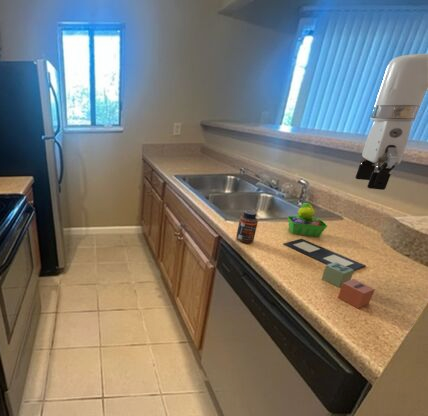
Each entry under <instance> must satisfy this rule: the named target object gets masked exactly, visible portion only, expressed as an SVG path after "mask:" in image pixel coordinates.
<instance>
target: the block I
mask: <svg viewBox="0 0 428 416" xmlns="http://www.w3.org/2000/svg"><path fill="white" fill-rule="evenodd" d="M375 291H376V289H375V288H374V287H371V286H369V285H367V284H365V283H363V282H361V281H359V280H356V279H354V278H353V279H352V278H351V280H350V281H347V282H345V283H343V284H342V287H340V290H339V293H338V296H337V298H338V299H340V300H342V301H343V302H345V303H347V304H348V305H350V306H352V307H354V308H356V309H360V308H362V307H365V306H367V305H369V304H370V303H371V299H372V298H373V295H374V293H375Z"/></svg>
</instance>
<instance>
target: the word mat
mask: <svg viewBox="0 0 428 416" xmlns="http://www.w3.org/2000/svg"><path fill="white" fill-rule="evenodd" d="M282 245H283V246H285V247H288V248H289V249H292V250H294V251H296V252H299V253H300V254H303V255H306V256H307V257H309V258H312V259H314V260H315V261H318V262H320V263H321V264H324V265H325V266H326V265H328V264H331V263H334V262H337V263H339V264H342V265H344V266H346V267H348V268H351V269H353V270H354V272H355V271H357V270H360V269H363V268H365V267H366V264H364V263H361V262H359V261H357V260H354V259H352V258H350V257H347V256H344V255H342V254H340V253H337V252H335V251H333V250H330V249H327V248H325V247H323V246H321V245H318V244H315V243H313V242H311V241H309V240H306V239H304V238H299V239H295V240H291V241H288V242H284V243H283V244H282Z"/></svg>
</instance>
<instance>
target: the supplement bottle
mask: <svg viewBox="0 0 428 416" xmlns="http://www.w3.org/2000/svg"><path fill="white" fill-rule="evenodd" d="M258 222H259V220H258V218H257V212H255V211H253V210H249V209H247V210H244V211H243V215H240V217H239V221H238V226H237V231H236V236H235V237H236V238H235V239H236V240H237V241H238V242H241V243H244V244H251V243H253V242H254V240H255V236H256V232H257V227H258Z"/></svg>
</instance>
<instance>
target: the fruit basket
mask: <svg viewBox="0 0 428 416" xmlns="http://www.w3.org/2000/svg"><path fill="white" fill-rule="evenodd" d="M315 215H316V211H315V210H314V207H313V206H312V204H311V203H309V202H304V203H302V204H301V207H300V208H299V209H298V211H297V216H293V215H288V216H287V220H288V229H289V230H290V232H291V233H292V234H293V235H300V236H301V235H302V236H311V237H313V236H314V237H320V236H321V235H322V234H323V233H324V231H325V230H326V228H327V227H328V224H326V223H325V222H324V221H323V220H322V219H321V218H317V217H314V216H315Z"/></svg>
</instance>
